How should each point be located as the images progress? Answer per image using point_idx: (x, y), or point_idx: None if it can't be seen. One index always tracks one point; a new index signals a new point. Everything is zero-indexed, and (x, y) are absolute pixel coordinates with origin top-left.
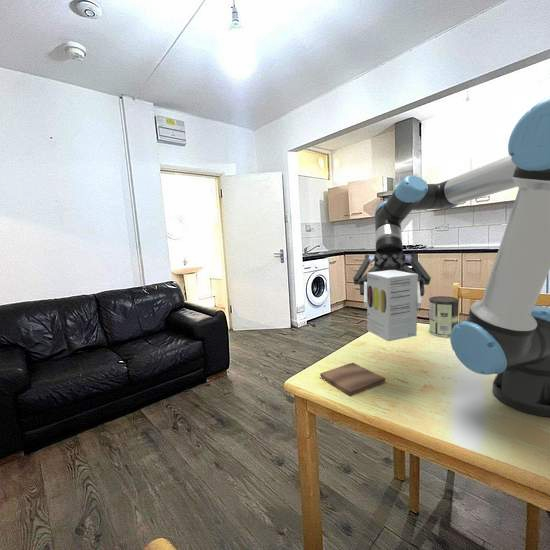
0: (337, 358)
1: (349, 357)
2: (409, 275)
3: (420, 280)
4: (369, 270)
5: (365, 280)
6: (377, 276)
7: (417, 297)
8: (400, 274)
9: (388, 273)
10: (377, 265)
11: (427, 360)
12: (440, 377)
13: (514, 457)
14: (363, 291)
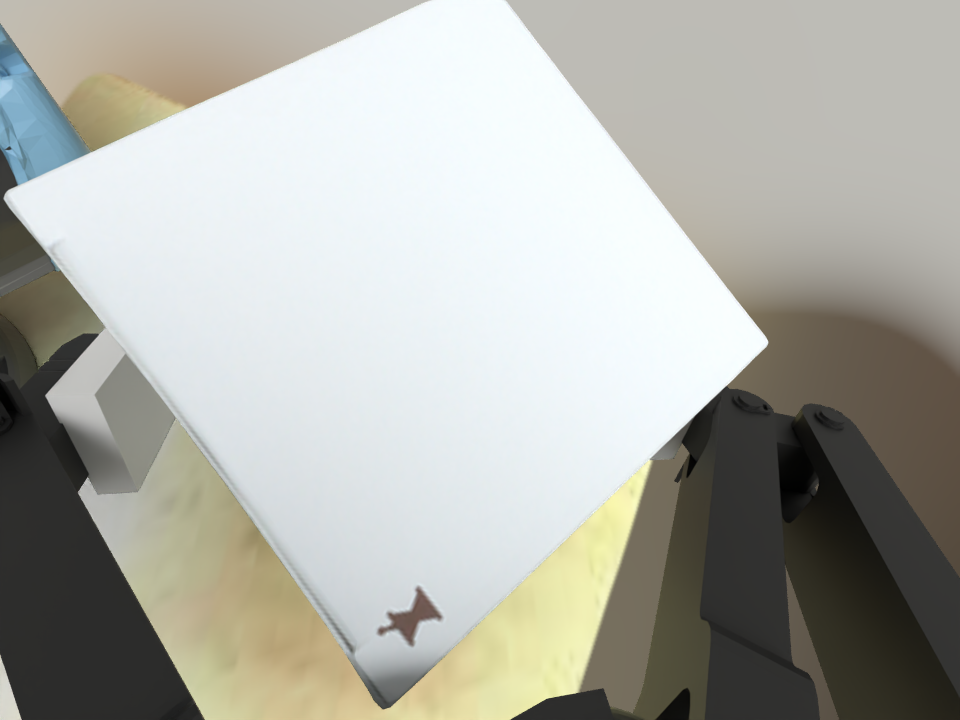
0: (584, 572)
1: (543, 596)
2: (178, 118)
3: (8, 385)
4: (779, 534)
5: (713, 422)
6: (617, 158)
7: None
8: (317, 141)
9: (492, 227)
10: (735, 635)
11: (219, 666)
12: (202, 500)
13: (130, 113)
14: None
